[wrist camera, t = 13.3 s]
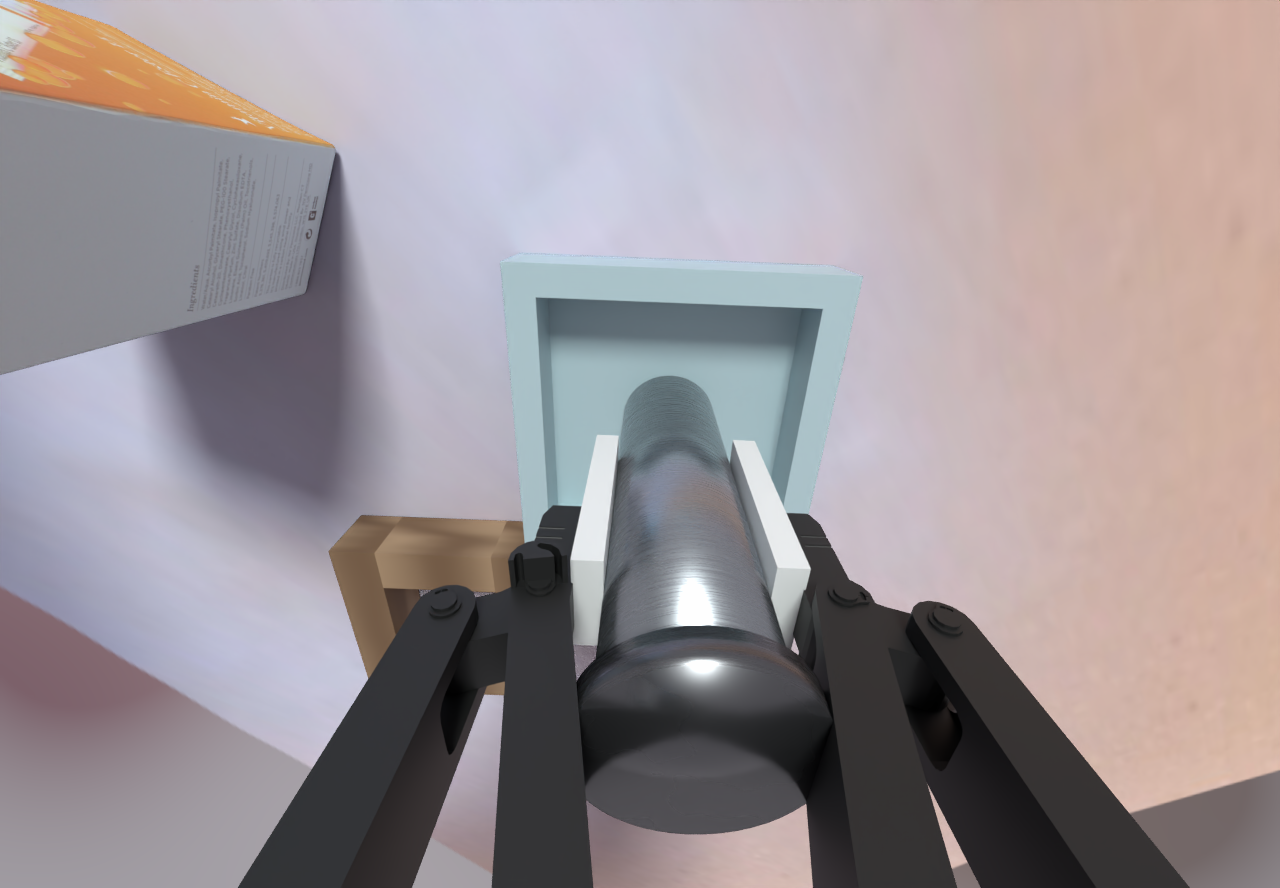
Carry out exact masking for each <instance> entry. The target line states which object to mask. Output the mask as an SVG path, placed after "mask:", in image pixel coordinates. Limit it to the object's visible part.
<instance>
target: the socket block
mask: <svg viewBox="0 0 1280 888" xmlns="http://www.w3.org/2000/svg"><path fill="white" fill-rule="evenodd" d="M524 543H525V541H524V530H523V522H522V521H496V520H470V519H444V518H418V517H392V516H366V515H361V516H360V517H359V518H358V519H357V521H356V522H355V523H354V524H353V525H352V526H351V527H350V528H349V529H348V530H347V532H346V533H345V534H344V535H343V536H342V537H341V538H340V539H339V540H338V541H337V543H336V544H335V545H334V546H333V547H332V548H331V549H330V550H329V551H328V552H329V555H330V558H331V561H332V564H333V567H334V571H335V574H336V577H337V580H338V583H339V586H340V590H341V593H342V596H343V599H344V602H345V606H346V609H347V612H348V615H349V618H350V621H351V625H352V628H353V631H354V634H355V637H356V641H357V644H358V647H359V650H360V653H361V656H362V660H363V663H364V666H365V669H366V672H367V675H368V679H369V677H370V676H371V674H372V673H373V671H374V669H375V668H376V666H377V665H378V663H379V661H380V660H381V658H382V657H383V655H384V653H385V652H386V650H387V649H388V647H389V645H390V644H391V642H392V641H393V639H394V637H395V636H396V634H397V633H398V631H399V629H400V628H401V626H402V625H403V623H404V621H405V620H406V618H407V617H408V615H409V613H410V612H411V610H412V609H413V607H414V605H415V604H416V603H417V602H418V601H419V599H420V595H419V590H418V589H423V590H433V589H436V588H439V587H442V586H445V585H460V586H464V587H467V588H468V589H470V590H471V591H475V592H495V593H498V592H501V591H503V590H505V589H508V588H510V587H511V584H510V575H509V566H508V559H509V557H510V554H511V552H513V551H514V550H515V549H516V548H517V547H518V546H520V545H522V544H524ZM504 689H505V682H501V683H497V684H493V685H489V686H487V688H486V691H485V693H484V694H487V695H504Z"/></svg>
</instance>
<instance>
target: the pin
mask: <svg viewBox="0 0 1280 888" xmlns="http://www.w3.org/2000/svg"><path fill="white" fill-rule="evenodd" d="M576 684H577V696H578V709H579V721H580V733H581V745H582V757H583V770H584V782H585V794H586V800H587V801H588V802H589V803H591V804H592V805H593V806H595V807H596V808H598V809H599V810H601V811H602V812H604V813H606V814H608V815H610V816H612V817H614V818H616V819H619V820H621V821H624V822H626V823H629V824H632V825H635V826H639V827H642V828H646V829H651V830H655V831H661V832H668V833H678V834H716V833H725V832H732V831H738V830H743V829H748V828H752V827H756V826H759V825H762V824H766V823H768V822H771V821H774V820H776V819H779V818H781V817H783V816H785V815H787V814H789V813H791V812H793V811H795V810H797V809H798V808H800V807H801V806H803V805H805V804H806V801H807V798H808V795H809V793H810V790H811V787H812V784H813V781H814V778H815V775H816V772H817V769H818V766H819V763H820V760H821V757H822V754H823V751H824V748H825V745H826V742H827V739H828V736H829V733H830V730H831V727H832V724H833V719H832V716H831V713H830V710H829V707H828V704H827V701H826V698H825V695H824V692H823V689H822V687H821V684H820V682H819V680H818V678H817V676H816V675H815V673H814V672H813V670H812V669H811V667H810V666H809V665H808V664H807V663H806V662H805V661H804V660H803V659H802V658H801V657H800V656H798V655H797V654H796V653H794V652H793V651H792V650H790V649H789V648H787V647H786V645H785V642H784V639H783V635H782V632H781V629H780V626H779V622H778V619H777V616H776V613H775V609H774V606H773V603H772V600H771V596H770V593H769V590H768V587H767V583H766V580H765V577H764V574H763V570H762V567H761V564H760V561H759V557H758V554H757V551H756V548H755V544H754V541H753V538H752V535H751V531H750V528H749V525H748V522H747V518H746V515H745V512H744V509H743V505H742V502H741V499H740V496H739V492H738V489H737V486H736V483H735V479H734V476H733V473H732V470H731V466H730V463H729V460H728V457H727V453H726V450H725V447H724V444H723V440H722V437H721V434H720V431H719V427H718V424H717V421H716V418H715V414H714V411H713V408H712V405H711V402H710V400H709V398H708V396H707V394H706V393H705V392H704V391H703V389H701V388H700V387H699V386H698V385H697V384H695V383H694V382H692V381H690V380H688V379H685V378H683V377H678V376H660V377H656V378H652V379H650V380H648V381H646V382H644V383H642V384H641V385H640V386H638V387H637V388H636V389H635V390H634V391H633V392H632V394H631V395H630V396H629V398H628V400H627V402H626V405H625V408H624V413H623V422H622V431H621V440H620V448H619V457H618V469H617V478H616V487H615V496H614V505H613V514H612V523H611V532H610V541H609V550H608V559H607V568H606V577H605V586H604V595H603V599H602V608H601V617H600V626H599V634H598V643H597V652H596V659H595V660H594V661H593V662H592V663H591V664H590V665H589V666H588V667H587V668H586V669H585V670H584V672H583V673H582V674H581V676H580V677H579V679H578V680H577V682H576Z"/></svg>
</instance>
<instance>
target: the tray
mask: <svg viewBox="0 0 1280 888" xmlns="http://www.w3.org/2000/svg"><path fill="white" fill-rule="evenodd" d="M500 266H501V277H502V288H503V300H504V311H505V323H506V334H507V346H508V357H509V369H510V380H511V392H512V403H513V415H514V426H515V438H516V449H517V461H518V472H519V484H520V495H521V507H522V518H523V530H524V541H525V543H526V542H530V541H534V540H535V538H536V534H537V531H538V529H539V525H540V522H541V519H542V516H543V514H544V513H545V512H546V511H547V510H548V509H549V508H551V507H552V506H553V505H562V506H582V502H583V498H584V493H585V488H586V484H587V479H588V474H589V470H590V465H591V460H592V456H593V451H594V446H595V442H596V437H597V435H615V436H619V448H620V440H621V431H622V422H623V413H624V408H625V405H626V402H627V400H628V398H629V396H630V395H631V394H632V392H633V391H634V390H635V389H636V388H637V387H638V386H640V385H641V384H642V383H644V382H646V381H648V380H650V379H652V378H656V377H660V376H678V377H683V378H685V379H688V380H690V381H692V382H694V383H695V384H697V385H698V386H699V387H700V388H701V389H703V391H704V392H705V393H706V394H707V396H708V398H709V400H710V402H711V405H712V408H713V411H714V414H715V418H716V421H717V424H718V427H719V431H720V434H721V437H722V440H723V444H724V447H725V450H726V453H727V457H728V460H729V463H730V457H731V450H732V443H733V440H745V441H755V443H756V445H757V447H758V450H759V452H760V454H761V456H762V459H763V461H764V463H765V466H766V468H767V470H768V472H769V475H770V477H771V479H772V482H773V484H774V486H775V488H776V491H777V493H778V495H779V497H780V500H781V502H782V504H783V507H784V509H785V511H786V513H802V514H809V510H810V505H811V501H812V497H813V492H814V488H815V484H816V479H817V475H818V471H819V466H820V462H821V457H822V453H823V449H824V444H825V440H826V436H827V431H828V427H829V423H830V418H831V414H832V410H833V405H834V401H835V397H836V392H837V388H838V384H839V379H840V375H841V371H842V366H843V362H844V357H845V353H846V349H847V344H848V340H849V336H850V331H851V327H852V323H853V318H854V314H855V310H856V305H857V301H858V297H859V292H860V288H861V284H862V279H863V276H862V275H859V274H856V273H853V272H851V271H848V270H845V269H842V268H840V267H837V266H828V265H803V264H778V263H753V262H728V261H703V260H678V259H653V258H628V257H603V256H578V255H553V254H528V253H519V254H517V255H514V256H512V257H510V258H507V259H505V260H503V261H500ZM618 457H619V451H618Z"/></svg>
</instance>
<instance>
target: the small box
mask: <svg viewBox="0 0 1280 888" xmlns="http://www.w3.org/2000/svg"><path fill="white" fill-rule="evenodd" d="M335 151H336V149H335V147H334V146H333V145H332V144H330V143H328V142H326V141H324V140H322V139H320V138H318V137H316V136H313V135H311V134H309V133H307V132H305V131H303V130H301V129H299V128H297V127H296V126H294V125H292V124H290V123H288V122H286V121H284V120H282V119H280V118H278V117H276V116H274V115H273V114H271V113H269V112H267V111H265V110H263V109H261V108H260V107H258V106H256V105H254V104H252V103H250V102H249V101H247V100H245V99H243V98H241V97H239V96H237V95H235V94H233V93H231V92H230V91H228V90H226V89H224V88H222V87H220V86H219V85H217V84H215V83H213V82H211V81H210V80H208V79H206V78H204V77H202V76H200V75H199V74H197V73H195V72H193V71H191V70H190V69H188V68H186V67H184V66H182V65H181V64H179V63H177V62H175V61H173V60H172V59H170V58H168V57H166V56H164V55H163V54H161V53H159V52H157V51H155V50H154V49H152V48H150V47H148V46H146V45H145V44H143V43H141V42H139V41H138V40H136V39H134V38H132V37H130V36H129V35H127V34H125V33H123V32H122V31H120V30H118V29H117V28H114V27H112V26H110V25H107V24H104V23H101V22H98V21H95V20H92V19H89V18H86V17H83V16H80V15H76V14H73V13H70V12H67V11H64V10H61V9H58V8H55V7H52V6H50V5H47V4H44V3H41V2H38V1H34V0H0V375H2V374H6V373H9V372H13V371H17V370H21V369H24V368H28V367H32V366H36V365H39V364H43V363H47V362H50V361H54V360H58V359H62V358H65V357H69V356H73V355H77V354H80V353H84V352H88V351H92V350H95V349H99V348H103V347H107V346H110V345H114V344H118V343H122V342H125V341H129V340H133V339H137V338H140V337H144V336H148V335H152V334H156V333H159V332H163V331H167V330H171V329H174V328H178V327H181V326H185V325H189V324H193V323H197V322H200V321H204V320H208V319H212V318H215V317H219V316H223V315H227V314H230V313H234V312H238V311H242V310H245V309H249V308H253V307H257V306H261V305H264V304H268V303H272V302H276V301H280V300H283V299H287V298H291V297H295V296H299V295H303V294H304V293H305V292H306V289H307V284H308V279H309V276H310V271H311V266H312V261H313V257H314V252H315V247H316V243H317V238H318V233H319V228H320V224H321V219H322V215H323V209H324V205H325V200H326V196H327V190H328V185H329V180H330V176H331V171H332V166H333V161H334V157H335Z"/></svg>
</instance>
